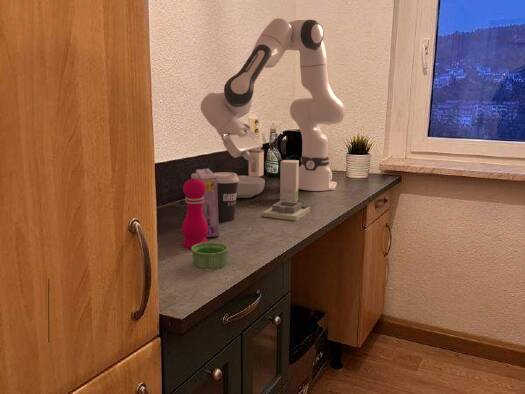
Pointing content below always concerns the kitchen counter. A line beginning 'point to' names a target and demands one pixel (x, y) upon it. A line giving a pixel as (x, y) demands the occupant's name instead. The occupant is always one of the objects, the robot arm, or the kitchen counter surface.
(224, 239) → the kitchen counter surface
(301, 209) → the board
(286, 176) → the skincare box
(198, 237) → the pepper mill
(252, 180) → the cereal bowl
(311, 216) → the kitchen counter surface
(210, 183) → the cake pan box
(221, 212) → the coffee cup
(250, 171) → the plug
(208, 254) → the ramekin
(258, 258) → the kitchen counter surface
